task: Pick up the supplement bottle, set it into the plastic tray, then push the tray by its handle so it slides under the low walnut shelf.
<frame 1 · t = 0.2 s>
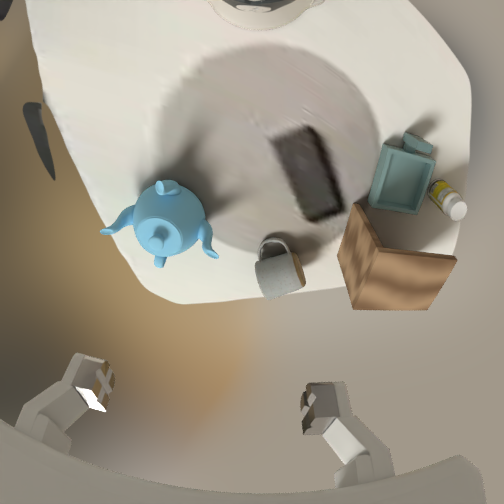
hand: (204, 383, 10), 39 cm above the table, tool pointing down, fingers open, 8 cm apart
shelf: (381, 235, 52), on the table
supplement bottle: (436, 189, 45), on the table
ceramic mug: (276, 257, 56), on the table
tray: (407, 176, 41), point 3 cm above the table, slide at 0.0 cm
teapot: (173, 205, 50), on the table
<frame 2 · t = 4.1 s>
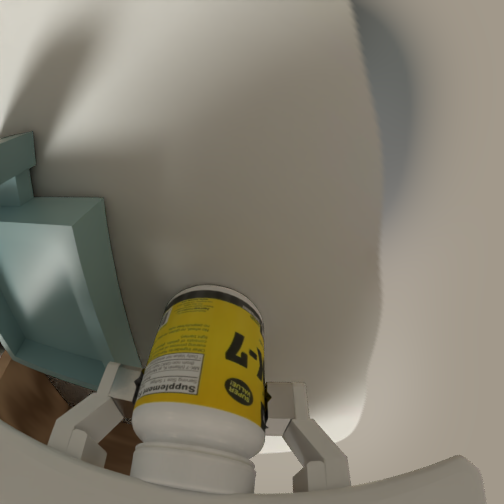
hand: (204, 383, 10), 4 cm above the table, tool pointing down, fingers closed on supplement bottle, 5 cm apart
shelf: (110, 401, 19), on the table
supplement bottle: (214, 317, 13), on the table, touching gripper
tray: (14, 298, 10), point 3 cm above the table, slide at 0.0 cm
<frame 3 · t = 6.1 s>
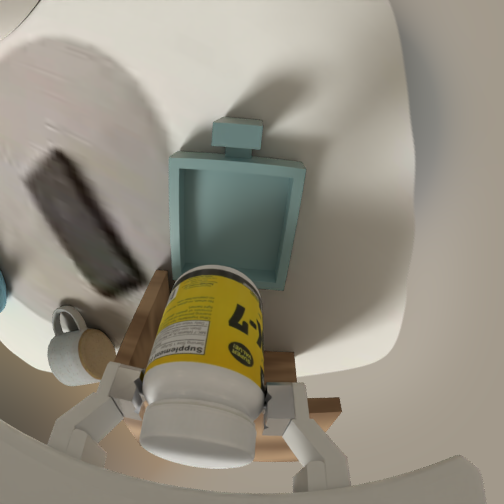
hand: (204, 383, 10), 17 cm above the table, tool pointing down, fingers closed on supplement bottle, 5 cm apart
shelf: (231, 321, 31), on the table
supplement bottle: (217, 296, 15), point 11 cm above the table, touching gripper
ceramic mug: (85, 330, 34), on the table
tray: (232, 213, 21), point 3 cm above the table, slide at 0.0 cm
when the fingers open (6 cm above the table, at t = 8.7 s): supplement bottle stays where it is, resting on tray.
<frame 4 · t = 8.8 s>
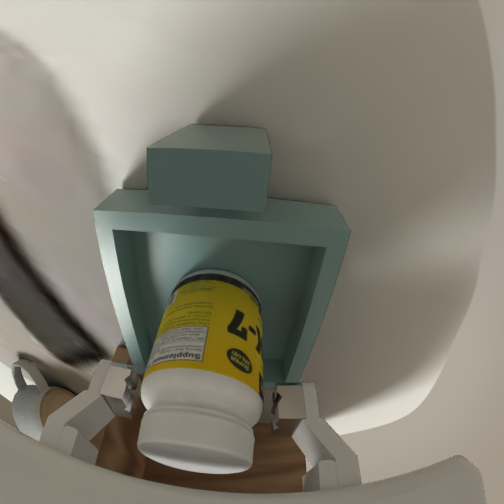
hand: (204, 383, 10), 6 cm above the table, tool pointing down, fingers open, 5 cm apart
shelf: (223, 400, 22), on the table
supplement bottle: (216, 300, 15), point 1 cm above the table, touching tray
ceramic mug: (51, 384, 24), on the table
tray: (213, 303, 12), point 3 cm above the table, slide at 0.0 cm, touching supplement bottle
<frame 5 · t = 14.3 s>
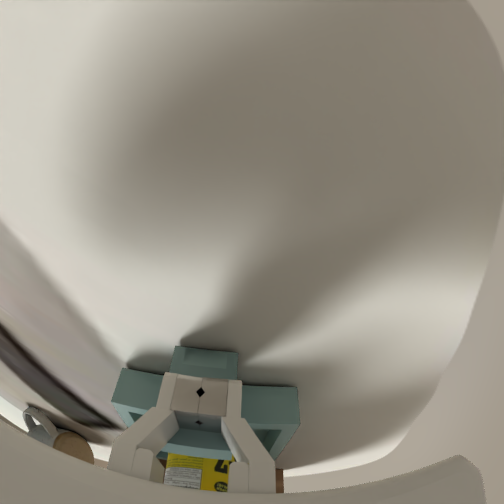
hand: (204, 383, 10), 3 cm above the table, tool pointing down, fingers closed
supplement bottle: (207, 425, 17), point 1 cm above the table, touching tray
ceramic mug: (59, 425, 25), on the table
tray: (204, 443, 14), point 3 cm above the table, slide at 1.2 cm, touching supplement bottle, gripper
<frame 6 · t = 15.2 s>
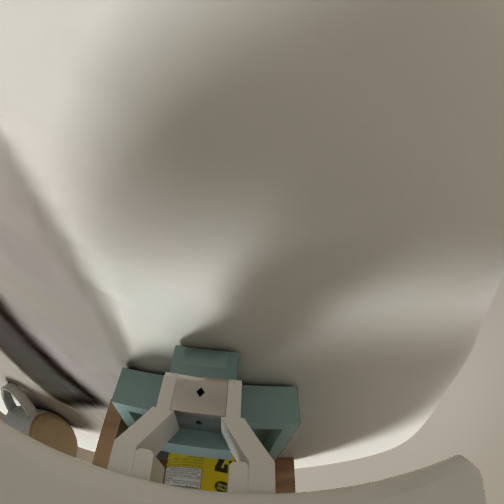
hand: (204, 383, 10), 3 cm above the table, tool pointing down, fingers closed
shelf: (216, 442, 21), on the table
supplement bottle: (207, 425, 17), point 1 cm above the table, touching tray
ceramic mug: (40, 406, 22), on the table
tray: (205, 443, 14), point 3 cm above the table, slide at 6.5 cm, touching supplement bottle, gripper
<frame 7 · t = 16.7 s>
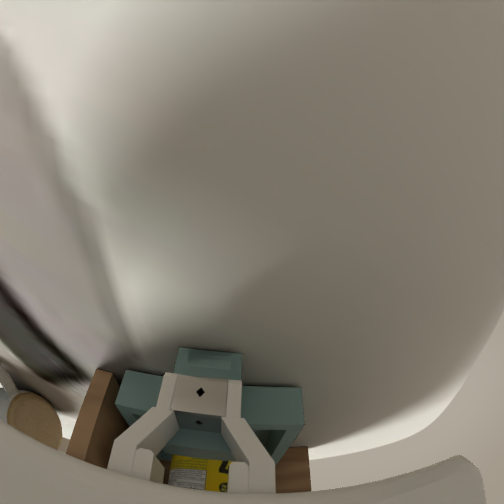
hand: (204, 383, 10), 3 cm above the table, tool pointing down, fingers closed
shelf: (219, 426, 18), on the table
supplement bottle: (211, 426, 17), point 1 cm above the table, touching tray
ceramic mug: (24, 387, 20), on the table
tray: (209, 445, 14), point 3 cm above the table, slide at 10.9 cm, touching supplement bottle
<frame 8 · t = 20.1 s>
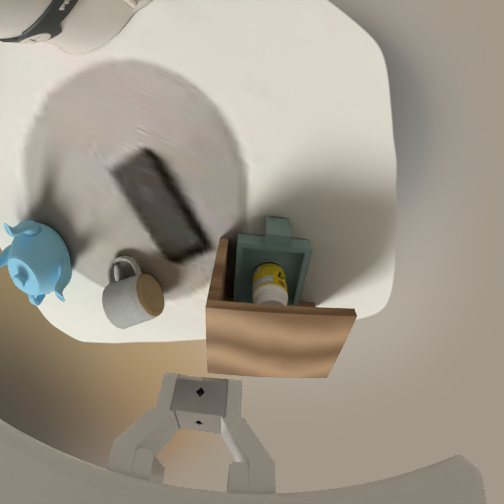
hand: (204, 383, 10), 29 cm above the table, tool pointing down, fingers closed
shelf: (271, 276, 44), on the table
supplement bottle: (268, 271, 42), point 1 cm above the table, touching tray
ceramic mug: (135, 279, 45), on the table
tray: (271, 270, 40), point 3 cm above the table, slide at 10.9 cm, touching supplement bottle
teapot: (47, 244, 41), on the table
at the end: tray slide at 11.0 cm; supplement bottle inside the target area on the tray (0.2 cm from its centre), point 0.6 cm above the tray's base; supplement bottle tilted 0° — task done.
